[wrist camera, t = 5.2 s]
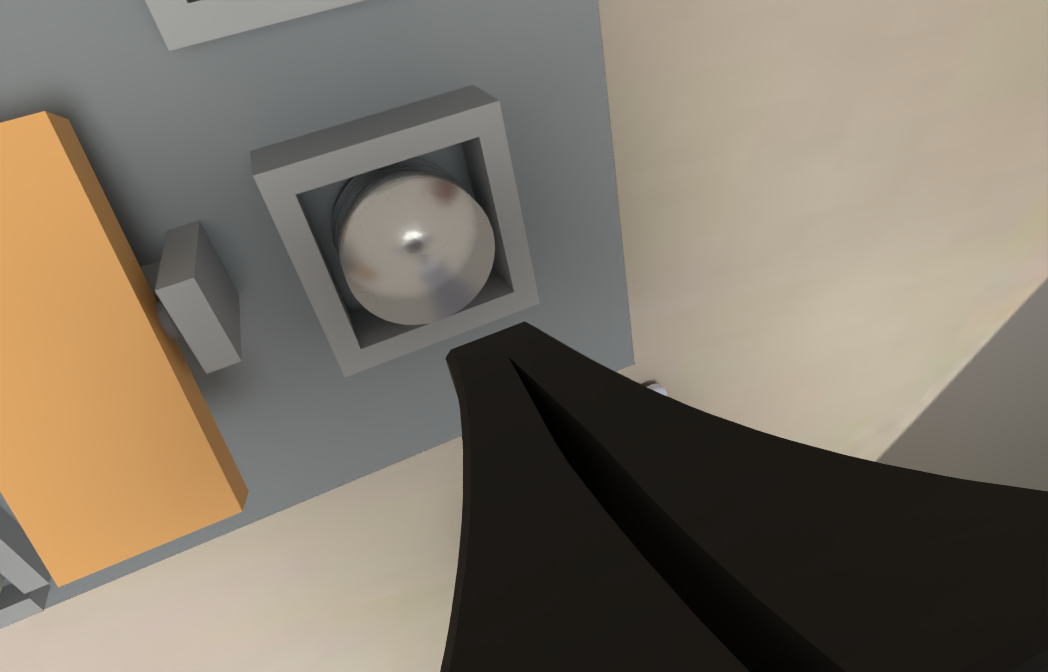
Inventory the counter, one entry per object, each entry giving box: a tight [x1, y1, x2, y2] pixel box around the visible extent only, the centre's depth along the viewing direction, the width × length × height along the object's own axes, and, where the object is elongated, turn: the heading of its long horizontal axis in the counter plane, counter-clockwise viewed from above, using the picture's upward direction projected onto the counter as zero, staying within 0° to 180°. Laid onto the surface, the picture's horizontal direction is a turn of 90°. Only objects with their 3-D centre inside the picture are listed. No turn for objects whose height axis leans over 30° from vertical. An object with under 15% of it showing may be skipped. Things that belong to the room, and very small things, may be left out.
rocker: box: [0, 111, 249, 587], centre depth 12 cm, size 8×4×1 cm, turn 11°
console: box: [0, 0, 634, 629], centre depth 13 cm, size 18×22×5 cm
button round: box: [332, 158, 495, 325], centre depth 15 cm, size 3×3×2 cm
